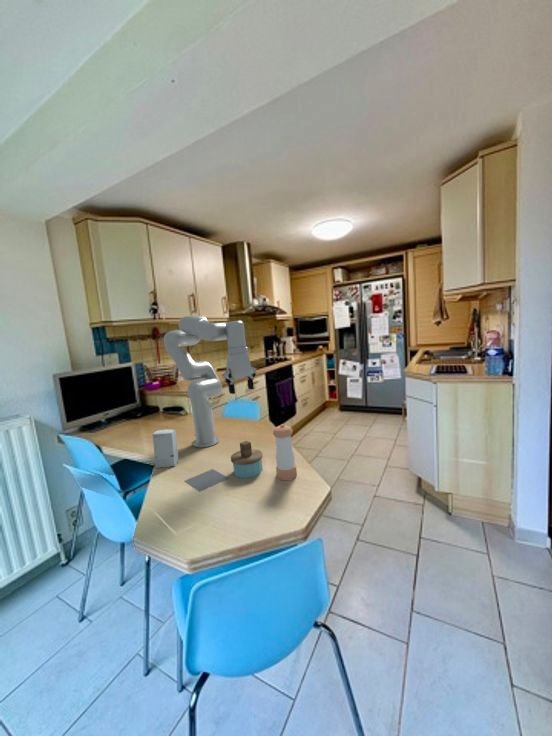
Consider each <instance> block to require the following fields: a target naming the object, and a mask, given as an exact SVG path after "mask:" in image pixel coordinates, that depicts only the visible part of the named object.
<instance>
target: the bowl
mask: <svg viewBox="0 0 552 736" xmlns="http://www.w3.org/2000/svg"><path fill="white" fill-rule="evenodd" d="M262 459H263V458H262ZM262 459H261V460H259V461H258V462H255V463H252V464H248V465H237V464H234V463H232V466H233V467H232V468H233V473H234V476H235V477H238V478H242V479H243V478H244V479H247V478H248V479H249V478H252V477H255V476H258V475H259V474H261V473H262V472H263V469H264V468H263V461H262Z"/></svg>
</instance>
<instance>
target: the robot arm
mask: <svg viewBox="0 0 552 736" xmlns="http://www.w3.org/2000/svg"><path fill="white" fill-rule="evenodd" d="M178 328H179V329H175V330H170V331H168V332H166V333H165V334H164V336H163V345H164V349H165V351H166V353H167V354H168V356H169V357H170V358H171V359H172V360H173V362H174V363H175V365H176V368H177V370H178V371H179V373H180V375H181V377H182V378H183V380H184V381H185V382H186V383H187V382H188V383H190V384H189V385H188V386H187V390H186V391H187V395H188V398H189V402H190V405H191V412H192V419H193V427H194V437H195V440H194V441H193V443H192V444H193V447H195V448H207V447H211V446H214V445H216V444H218V443H219V442H220V438H219V437H218V436H216V432H215V431H216V430H215V421H214V413H213V408H212V405H211V403H210V402H209V401H208V399H210V398H213V397H216V396H219V395H221V394H222V392H223V385H222V382H221V380H220V378H219V376H218V375H217V372H216V371H215V369H214V368H213V365H212V364H211V363H210V362H209V361H206V360H198V361H195V360H194V359H193V357H192V355H191V353H189V352H188V351H187V350H186V349H184V348H182V347H189V346H195V345H197V344H198V343H199V342H201V340H203V341H209V342H217V341H226V340H227V351H228V355H227V356H226V370H225V372H224V373H222V374H221V378H222V379H223V381H224V382H225V383H226V384H227V386H228V392H229V394H232V395H234V394H236V388H235V384H234V382H235V381H236V380H238V379H239V380H240V379H243V378H244V379H245V378H247V381H246V382H247V388H248V389H249V390H254V389H255V388H254V386H255V385H254V380H255V377H256V376H257V370H258V368H256V367H254V366H252V363H251V360H250V356H249V353H248V352H247V351H248V350H249V347H248V346H247V343H246V341H247V339H246V332H245V324H244V322H243V321H242V320H234V321H228V322H227V321H226V322H225V321H223V322H210V321H209V320H208V319H207V318H206V317H205V316H204V315H185V316H183V317H181V318H180V319H179V321H178Z"/></svg>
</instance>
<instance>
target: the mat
mask: <svg viewBox="0 0 552 736" xmlns="http://www.w3.org/2000/svg"><path fill="white" fill-rule="evenodd" d="M229 479H230V477H228V476H227V475H225V474H223V473H221V472H218V471H217V470H215V469H214V468H212V469H210V470H207V471H204V472H202V473H200V474H197V475H196V476H193V477H190V478H188V479H185V480H184V482H185V483H186V484H188V486H190V487H192V488H193V489H195V490H196V491H198V492H199V493H200V492H203V491H205V490H206V489H208V488H212V487H213V486H216V485H217V484H220V483H222V482H224V481H226V480H229Z"/></svg>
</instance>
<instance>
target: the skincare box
mask: <svg viewBox="0 0 552 736" xmlns="http://www.w3.org/2000/svg"><path fill="white" fill-rule="evenodd" d="M152 442H153V443H152V444H153V451H154V452H153V453H154V461H155V469H159V468H158V467H163V468H169V467H168V466H174V467H176V465H177V464H178V463H179V452H178V441H177V431H176V429H175V428H174V429H173V428H172V429H170V428H169V429H167V428H166V429H159V430H156V431H155V432H153V433H152ZM177 462H178V463H177Z"/></svg>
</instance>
